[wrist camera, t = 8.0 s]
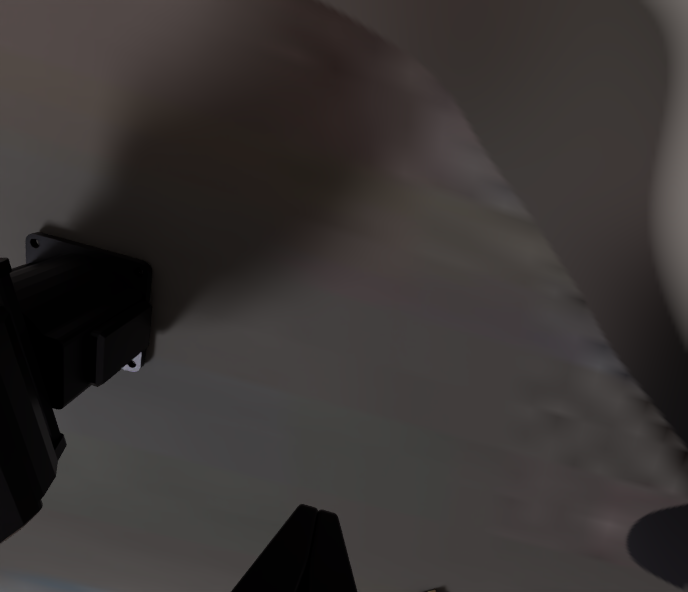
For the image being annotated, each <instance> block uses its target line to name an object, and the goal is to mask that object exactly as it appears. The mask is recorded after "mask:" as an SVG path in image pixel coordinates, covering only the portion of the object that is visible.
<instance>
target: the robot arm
mask: <svg viewBox="0 0 688 592" xmlns="http://www.w3.org/2000/svg"><path fill="white" fill-rule="evenodd" d="M36 240H38V242H39V244H40V246H39V245H38V244H37V241H36ZM138 267H139V268H141V269H142V271H143V274H141V273H139V271H138ZM151 278H152V269H151V267H150V265H149V264H148V263H147V262H145V261H143V260H139V259H135V258H132V257H128V256H125V255H121V254H117V253H114V252H110V251H106V250H103V249H99V248H95V247H92V246H88V245H85V244H81V243H77V242H74V241H70V240H66V239H63V238H59V237H56V236H52V235H48V234H45V233H41V232H36V233H32V234H29V235H28V236H27V237H26V264H25V265H22V266H19V267H16V268H13V269H11V266H10V262H9V259H8V258H0V544H1V543H3V542H4V541H6V540H7V539H8V538H10V537H11V536H12V535H14V534H15V533H16V532H18V531H19V530H21V529H22V528H23V527H24V526H25V525H26V524H27V523H28V522H29V521H30V520H31V519H32V518H33V517H34V516H35V515H36V514H37V513H38V512H39V511H40V510H41V508H42V505H43V503H42V501H41V499H42V497H43V496H44V495H45V493H46V491H47V490H48V488H49V487H50V485H51V483H52V482H53V480H54V478H55V477H56V471H57V464H58V460H59V458H60V456H61V454H62V453H63V451H64V449H65V447H66V445H67V444H66V441H65V438H64V435H63V434H62V433H60V431H59V428H58V425H57V421H56V418H55V415H54V412H53V409H52V408H54V409H62V408H63V407H65V406H66V405H67V404H68V403H70V402H71V401H72V400H73V399H75V398H76V397H77V396H78V395H80V394H81V393H82V392H83V391H85V390H86V389H87V388H88V387H90V386H91V385H93V386H96V387H98V386H100V385H102V384H104V383H105V382H106V381H107V380H109V379H110V378H111V377H112V376H113V375H115V374H116V373H117V372H118V371H119V370H121V369H124V370H128V371H131V372H136V371H138V370H139V369H140V368H141V367H142V366H144V362H145V350H146V348H147V347H148V346H149V337H150V325H151V314H152V306H151V304H150V290H151ZM132 360H133V361H135V363H136V364H134V363H133V362H132ZM231 592H357V588H356V585H355V581H354V577H353V573H352V569H351V565H350V561H349V557H348V554H347V550H346V546H345V542H344V538H343V534H342V530H341V526H340V523H339V519H338V516H337V515H336V514H335V513H332V512H329V511H325V510H319V511H318V510H317V508H315V507H311V506H308V505H304V504H300V505H299V506H298V507H297V508H296V510H295V511H294V512H293V513H292V515H291V516H290V517H289V519H288V520H287V521H286V522H285V524H284V525H283V526H282V527H281V529H280V530H279V531H278V533H277V534H276V535H275V536H274V538H273V539H272V540H271V541H270V543H269V544H268V545H267V547H266V548H265V549H264V550H263V552H262V553H261V554H260V555H259V557H258V558H257V559H256V561H255V562H254V563H253V564H252V566H251V567H250V568H249V569H248V571H247V572H246V573H245V575H244V576H243V577H242V578H241V580H240V581H239V582H238V583H237V585H236V586H235V587H234V589H233V590H232V591H231Z"/></svg>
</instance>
